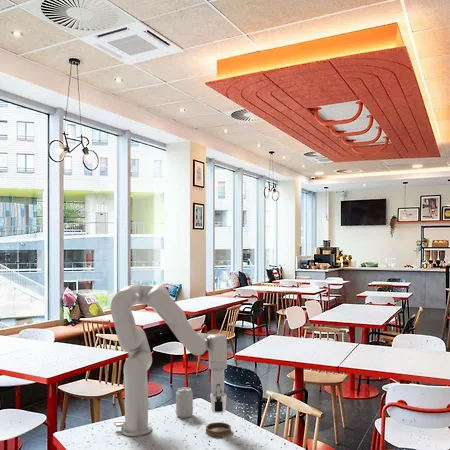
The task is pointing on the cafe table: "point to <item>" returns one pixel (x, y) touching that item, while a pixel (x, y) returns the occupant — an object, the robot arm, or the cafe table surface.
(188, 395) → the can
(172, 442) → the cafe table surface
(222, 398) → the white tapered cylinder
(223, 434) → the round bowl
